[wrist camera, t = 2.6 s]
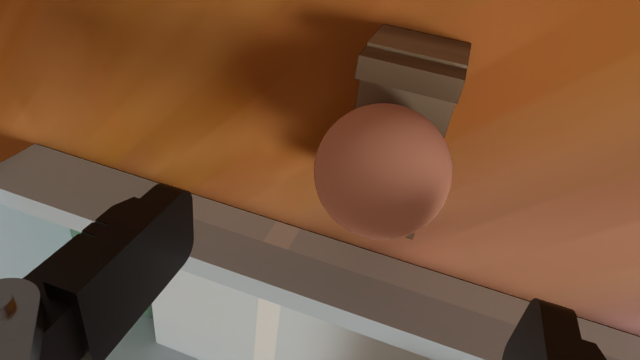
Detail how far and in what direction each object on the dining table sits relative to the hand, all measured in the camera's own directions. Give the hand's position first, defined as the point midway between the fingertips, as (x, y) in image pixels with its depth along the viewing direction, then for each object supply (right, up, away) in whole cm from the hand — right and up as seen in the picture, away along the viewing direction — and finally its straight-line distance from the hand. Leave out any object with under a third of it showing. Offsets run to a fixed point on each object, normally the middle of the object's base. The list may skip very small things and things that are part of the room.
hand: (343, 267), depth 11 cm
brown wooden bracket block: (+3, +5, +6) cm, 8 cm away
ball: (+1, +2, +3) cm, 4 cm away
